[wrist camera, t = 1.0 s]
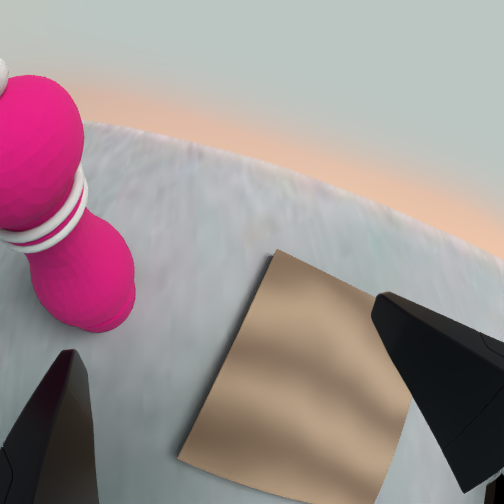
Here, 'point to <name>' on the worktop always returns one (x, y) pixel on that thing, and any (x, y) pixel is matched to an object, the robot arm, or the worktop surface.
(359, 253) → the worktop surface
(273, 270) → the tan cloth
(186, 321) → the worktop surface
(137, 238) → the worktop surface
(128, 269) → the pepper mill
